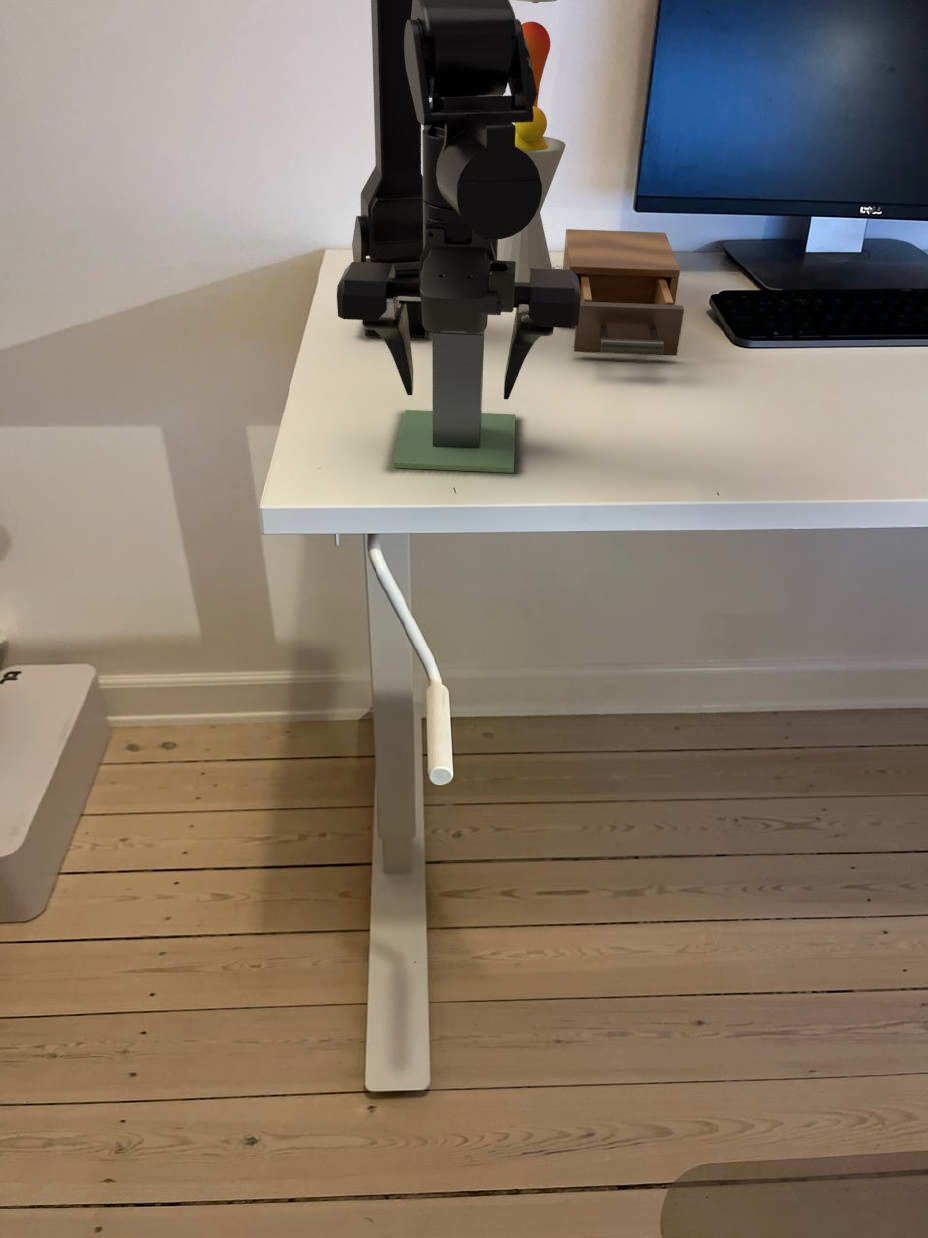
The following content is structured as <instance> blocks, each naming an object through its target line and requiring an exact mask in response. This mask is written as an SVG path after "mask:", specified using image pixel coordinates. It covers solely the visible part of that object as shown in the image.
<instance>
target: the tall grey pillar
mask: <svg viewBox="0 0 928 1238" xmlns="http://www.w3.org/2000/svg"><path fill="white" fill-rule="evenodd" d="M431 333H432V335H431V336H432V347H431V348H432V356H431V357H432V359H431V360H432V361H431V362H432V363H431V364H432V411H433V446H434V447H457V448H479V447H480V436H481V420H482V413H483V387H484V386H483V385H484V357H485V356H484V355H485V352H484V351H485V330H484V331H482V332H480V333H477V334H468V333H466V332H465V331H441V332H431Z"/></svg>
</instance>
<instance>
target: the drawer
mask: <svg viewBox="0 0 928 1238" xmlns="http://www.w3.org/2000/svg"><path fill="white" fill-rule="evenodd" d="M579 286H580V295H581V296H580V312H579V323H578V326H576V327H574V328H575V330H574V339H573V352H574V353H596V354H597V353H598V354H617V355H646V356H647V355H648V356H669V357H670V356H671V357H673V356H674V357H677V356H678V351H679V350H678V349H679V343H680V337H681V331H682V326H683V318H684V313H685V308H684V306H683V305H682V304H675V305H673V303H674V302H673V299H672V297H671V294H670V291H669V288H668V285H667V282H666V279H665V277H653V276H625V275H598V274H579Z"/></svg>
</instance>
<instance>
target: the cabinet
mask: <svg viewBox="0 0 928 1238" xmlns="http://www.w3.org/2000/svg"><path fill="white" fill-rule="evenodd" d="M563 249H564V250H563V262H562V269H563V270H573V272H574V273H575V274H576V276H577V277H578V278H579V274H598V275H625V276H653V277H665V279H666V282H667V285H668V288H669V291H670V294H671V297H672V299H673V302H674V303H673V305H676V301H677V300H676V299H677V292H678V288H679V287H678V286H679V279H680V274H681V273H680V272H681V270H680V267H679V264H678V262H677V259H676V257H675V254H674V251H673V248H672V246H671V244H670V241H669V239H668V235H667V233H666V232H661V231H660V232H659V231H658V232H657V231H635V230H634V231H631V230H629V231H628V230H602V229H577V228H576V229H575V228H574V229H573V228H566V229H565V238H564V248H563Z"/></svg>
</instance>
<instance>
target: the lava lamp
mask: <svg viewBox="0 0 928 1238" xmlns="http://www.w3.org/2000/svg"><path fill="white" fill-rule="evenodd" d="M517 1H518V2H528V3H532V4H539V3H549V2H556V1H558V0H516V2H517ZM521 25H522V29H523V34H524V37H525V39H526V40H527V44H528V49H529V54H530V59H531V64H532V69H533V74H534V79H535V84H536V89H537V97H536V100H535V103H534V106H533V112H534V118H533V122H526V123H513V124H514V125H515V128H516V136H515V145H516V146H517V147H519V148H520V149H521V150H523V151H524V152H525V153H526V154H527V155H528V156H529V157H530V158H531V159H532V160H533V161H534V163H535V165H536V167H537V169H538V172H539V176H540V180H541V183H542V196H541V201H540V205H539V207H538V210H537V212H536V214H535V216H534V217H533V219H532V220H531V221H530V223H529V224H528V225H527V226H526V227H525V228H524V229H523V230H522V231H520V232H518V233H517V234H515V235H513V236H511V237H507V238H504V239H498V254H497V260H499V261H515V262H516V269H515V282H525V283H529V275H530V268H536V269H553V266H552V262H551V257H550V252H549V248H548V243H547V237H546V234H545V227H544V224H543V220H542V215H541V210H542V208H543V206H544V204H545V200H546V198H547V195H548V193H549V191H550V188H551V185H552V183H553V180H554V177H555V176H556V173H557V170H558V167H559V165H560V162H561V159H562V157H563V154H564V152H565V148H566V143H565V142H564V141H563V140H560V139H557V138H554V137H549V136H545V133H546V130H547V127H548V120H547V116H546V113H545V112H544V111H543V110H542V109H541V108H539V105H538V103H539V94H540V87H541V82H542V77H543V73H544V69H545V66H546V63H547V60H548V58H549V57H548V56H549V54H550V51H551V50H550V49H551V37H550V34H549V32H548V30H547V29H546V27H545V26H544V25H543V24H541V23H539V22H537V21H532V20H531V21H526V22H523V23H521Z"/></svg>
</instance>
